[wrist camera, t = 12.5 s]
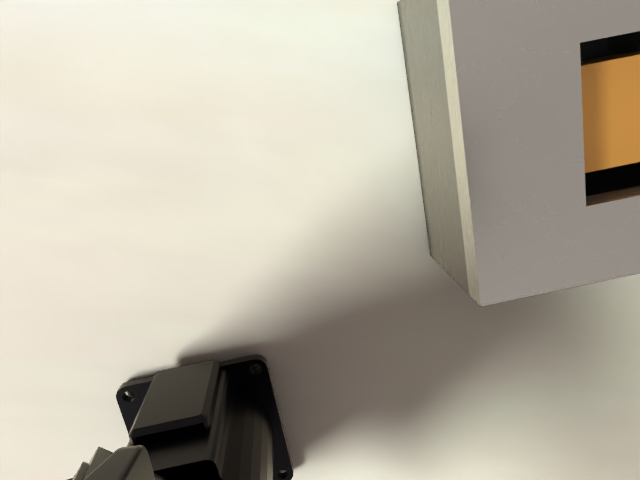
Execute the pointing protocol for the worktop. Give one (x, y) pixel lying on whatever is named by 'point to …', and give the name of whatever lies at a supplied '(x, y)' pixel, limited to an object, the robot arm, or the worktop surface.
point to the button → (611, 110)
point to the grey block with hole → (517, 143)
